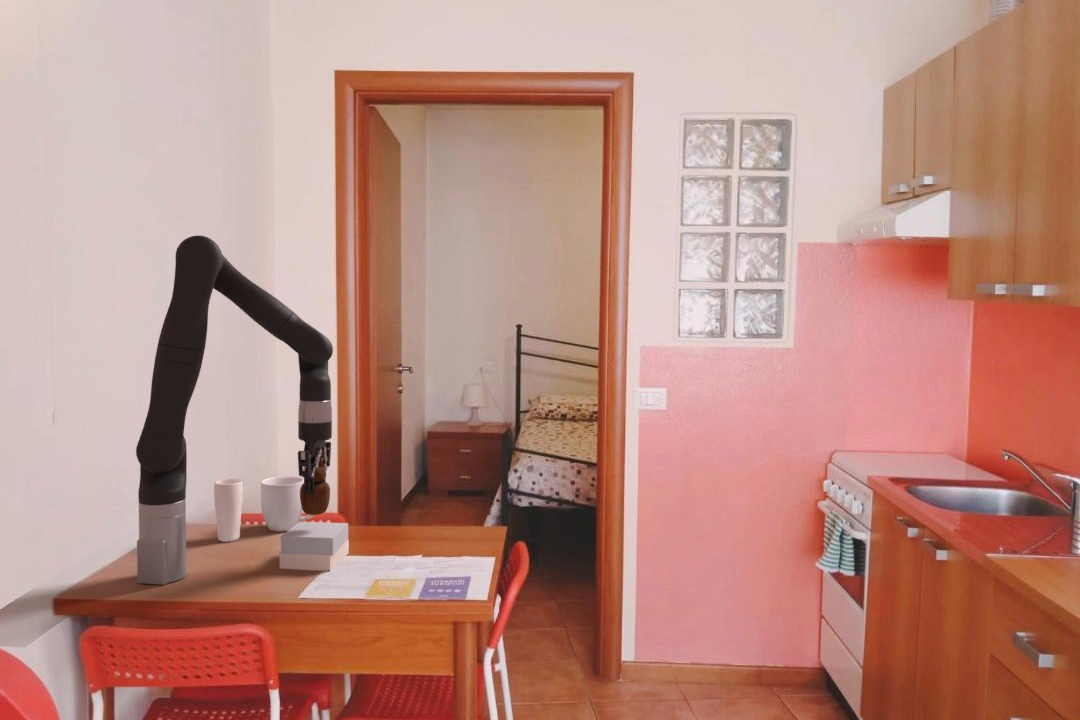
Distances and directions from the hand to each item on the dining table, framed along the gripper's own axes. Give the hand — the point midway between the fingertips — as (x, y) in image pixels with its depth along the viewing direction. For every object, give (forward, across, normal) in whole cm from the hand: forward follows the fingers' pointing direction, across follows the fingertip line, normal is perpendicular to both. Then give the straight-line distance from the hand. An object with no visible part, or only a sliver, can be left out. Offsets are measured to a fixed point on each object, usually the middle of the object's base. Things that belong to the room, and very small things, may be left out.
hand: (314, 489), depth 180 cm
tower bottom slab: (+18, 0, 0) cm, 18 cm away
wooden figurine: (+6, 0, 0) cm, 6 cm away
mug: (+17, +24, +18) cm, 35 cm away
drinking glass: (+17, +12, +28) cm, 35 cm away
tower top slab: (+14, 0, 0) cm, 14 cm away
